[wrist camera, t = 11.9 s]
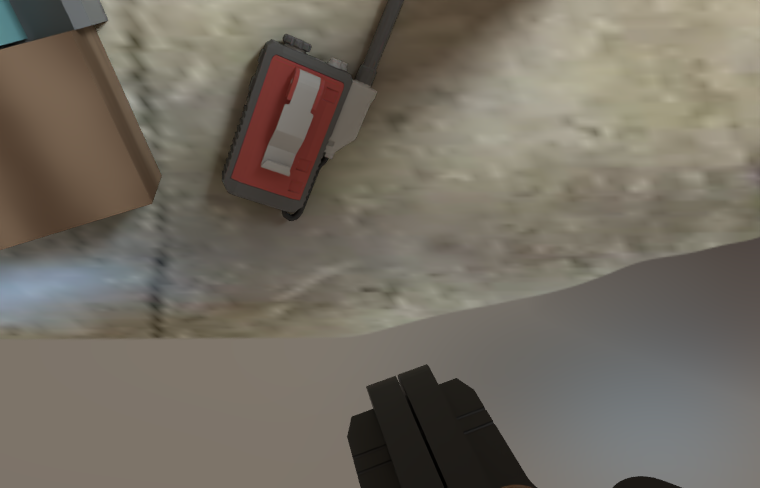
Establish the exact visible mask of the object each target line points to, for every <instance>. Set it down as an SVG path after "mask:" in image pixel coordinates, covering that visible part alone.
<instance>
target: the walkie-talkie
mask: <svg viewBox="0 0 760 488" xmlns="http://www.w3.org/2000/svg"><path fill="white" fill-rule="evenodd" d="M403 1H404V0H388V3H387V5H386V8H385V10H384V13H383V15H382V18H381V20H380V23H379V25H378V28H377V30H376V33H375V35H374V38H373V40H372V43H371V45H370V48H369V50H368V53H367V55H366V58H365V60H364V63H363V64H362V65H361V66H360V68H359V71H358V73H357V76H356V78H355V80H353V79H352V77H351V75H350V74H349V73H347V72H346V71H347V69H346V68H347V65H348V64H347V63H345V62H343V61H341V60H337V59H335V58H332V57H331V59H330V61H329V62H327V63H326V62H324V61H322V60H320V59H317V58H315V57H312V56H310V55H308V54H305V53H306V52H310V50H311V47H312V46H311V45H310V44H309V43H306V42H304V41H302V40H300V39H298V38H295V37H293V36H290V35H288V34H285V35H284V37H283V41H284V42H285V45H284V44H282V43H280V42H277V41H275V40H272V39H271V40H270V41H268V42H267V43H266V44H265V46H264V49H262V50H261V52H260V55H259V58H258V63H259V64H258V67H257V70H256V73H255V76H253V77H252V79H251V82H250V85H249V88H248V89H249V94H248V97H247V104H246V105H245V106H244V109H245V110H244V112H242V118H240V125H238V126H237V130H238V131H237V132H235V138H233V145H231V151H229V153H228V158H227V159H226V164H225V165H224V171H222V182H223V184H224V186H225V188H226V190H227V192H228V193H230V194H232V195H235V196H238V197H241V198H245V199H248V200H251V201H254V202H258V203H261V204H264V205H267V206H270V207H274V208H277V209H280V210H282V214H283V216H284V218H286V219H288V220H289V221H294V220H297V219H298V218H299V217H300V216H301V214H302V213H303V210H304V208H305V205H306V203H307V200H308V198H309V195H310V192H311V190H312V187H313V185H314V182H315V180H316V177H317V175H318V173H319V170H320V169H321V167H322V166H323V165H324V164H325V163H326V162H327V161H328V159H329V158H330V159H332V158H333V156H334V153H335V152H336V151H338V150H339V149H341V148H342V147H344V146H345V145H347V144H349V143H350V142H352V141H353V140H355V139H356V138H357V135H358V133H359V130H360V128H361V126H362V123H363V121H364V118H365V116H366V114H367V111H368V109H369V106H370V104H371V102H372V101H374V99H375V97H376V94H377V91H376V90H375V89H373V88H371V85H372V83H373V80H374V78H375V75H376V73H377V72H376V68H377V66H378V63H379V61H380V58H381V56H382V53H383V51H384V48H385V46H386V43H387V41H388V38H389V36H390V33H391V31H392V29H393V26H394V24H395V21H396V19H397V16H398V14H399V11H400V9H401V6H402V4H403ZM322 157H323V158H322ZM321 158H322V159H321ZM295 211H296V212H295ZM287 212H295V213H294V214H291V215H290V214H289V213H287Z"/></svg>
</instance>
